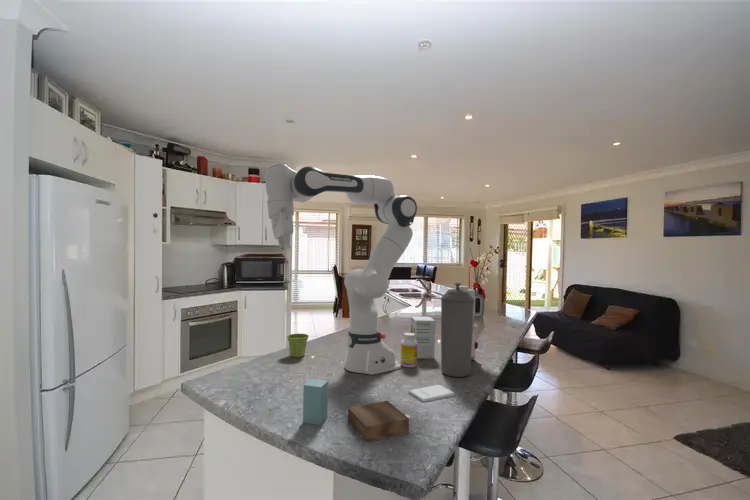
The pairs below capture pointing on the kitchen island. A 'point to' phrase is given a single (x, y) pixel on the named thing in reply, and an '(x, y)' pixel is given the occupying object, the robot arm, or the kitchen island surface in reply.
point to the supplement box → (424, 336)
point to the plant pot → (297, 344)
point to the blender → (474, 315)
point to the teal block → (315, 401)
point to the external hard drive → (431, 393)
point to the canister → (456, 332)
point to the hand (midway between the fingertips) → (285, 249)
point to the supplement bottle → (409, 350)
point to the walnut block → (378, 420)
